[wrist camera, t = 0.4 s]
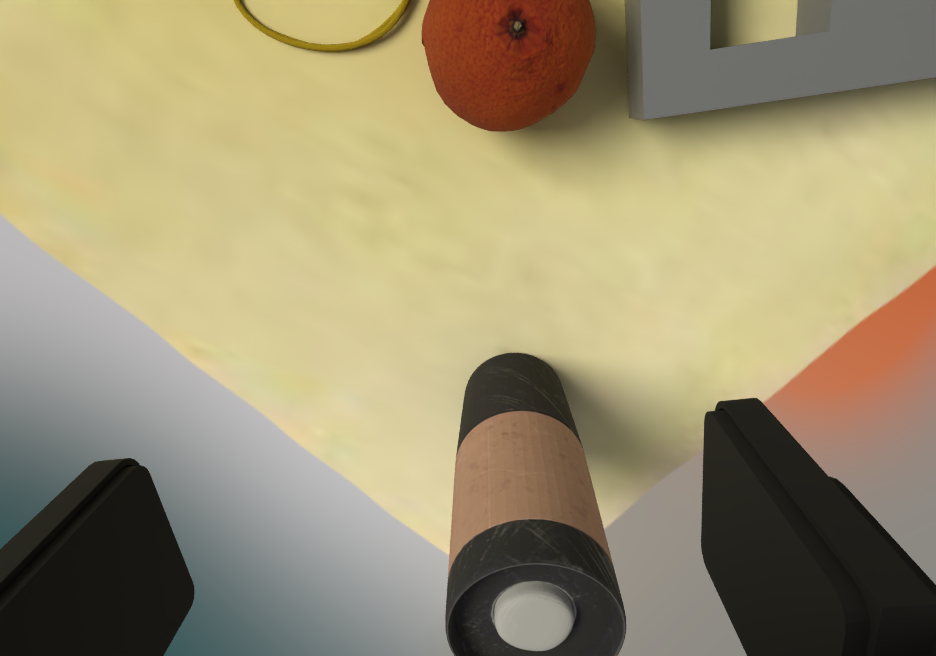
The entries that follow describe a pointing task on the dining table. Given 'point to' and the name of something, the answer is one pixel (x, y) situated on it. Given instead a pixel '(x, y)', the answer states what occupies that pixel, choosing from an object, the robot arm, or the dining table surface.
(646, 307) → the dining table surface
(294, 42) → the extension cord
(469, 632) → the travel mug
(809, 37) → the socket block
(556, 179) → the dining table surface
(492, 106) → the fruit
